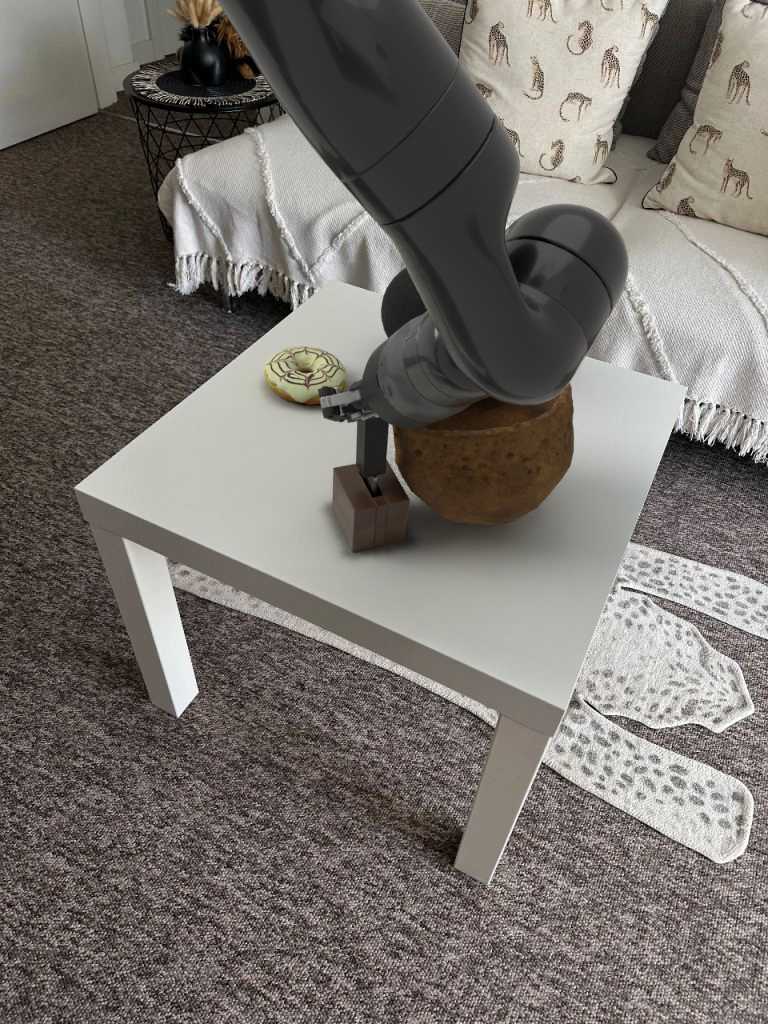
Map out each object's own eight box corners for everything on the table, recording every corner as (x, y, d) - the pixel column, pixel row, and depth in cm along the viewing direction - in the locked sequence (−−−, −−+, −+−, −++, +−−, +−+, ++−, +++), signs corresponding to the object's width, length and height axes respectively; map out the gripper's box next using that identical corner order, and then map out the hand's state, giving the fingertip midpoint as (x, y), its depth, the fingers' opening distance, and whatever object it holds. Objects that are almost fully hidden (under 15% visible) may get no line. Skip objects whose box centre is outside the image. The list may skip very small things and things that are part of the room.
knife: (362, 536, 76) (366, 419, 65) (353, 517, 78) (356, 401, 67) (382, 531, 77) (391, 415, 66) (373, 512, 79) (379, 397, 68)
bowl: (448, 446, 90) (432, 338, 81) (596, 468, 81) (597, 349, 72) (376, 539, 78) (348, 424, 69) (541, 577, 69) (533, 450, 60)
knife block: (352, 552, 74) (354, 511, 70) (332, 508, 79) (333, 467, 75) (405, 540, 76) (410, 499, 72) (382, 498, 81) (386, 457, 76)
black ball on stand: (464, 344, 107) (480, 247, 96) (473, 394, 97) (491, 291, 87) (376, 339, 106) (383, 241, 96) (377, 389, 96) (384, 285, 86)
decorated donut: (304, 420, 90) (304, 395, 88) (249, 384, 95) (247, 360, 93) (360, 388, 96) (361, 364, 94) (306, 357, 101) (306, 333, 99)
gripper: (498, 311, 55) (420, 362, 72) (328, 334, 51) (286, 382, 68) (517, 406, 56) (434, 435, 72) (349, 436, 51) (302, 459, 68)
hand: (363, 409), depth 70 cm, fingers closed on knife, 2 cm apart
